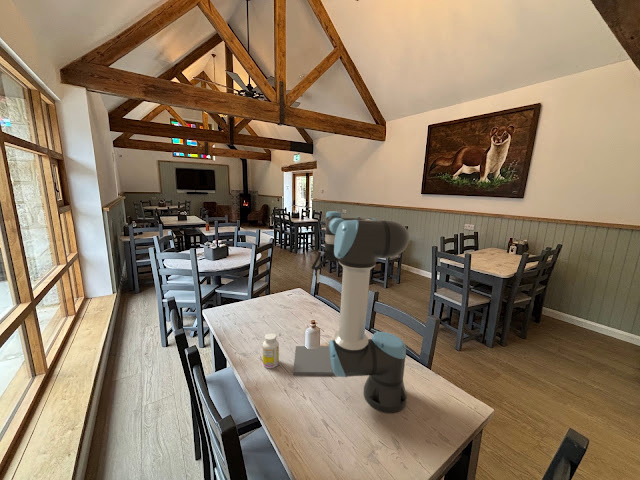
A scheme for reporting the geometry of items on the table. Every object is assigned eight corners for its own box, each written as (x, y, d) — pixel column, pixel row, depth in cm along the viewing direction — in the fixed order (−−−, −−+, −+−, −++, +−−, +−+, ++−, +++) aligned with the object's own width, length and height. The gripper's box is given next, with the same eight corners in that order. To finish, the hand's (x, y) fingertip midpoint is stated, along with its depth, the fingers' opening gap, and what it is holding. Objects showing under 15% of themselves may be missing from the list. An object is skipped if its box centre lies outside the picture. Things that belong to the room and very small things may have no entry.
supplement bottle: (272, 357, 118) (272, 330, 116) (281, 364, 113) (281, 336, 111) (259, 363, 113) (259, 335, 111) (268, 371, 109) (268, 342, 106)
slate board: (332, 375, 107) (333, 372, 107) (293, 375, 107) (293, 371, 107) (329, 349, 125) (330, 346, 125) (295, 348, 125) (295, 345, 124)
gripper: (358, 242, 134) (356, 283, 137) (309, 239, 138) (308, 279, 142) (357, 245, 126) (355, 288, 130) (306, 242, 131) (305, 283, 134)
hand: (331, 283), depth 136 cm, fingers open, 13 cm apart
